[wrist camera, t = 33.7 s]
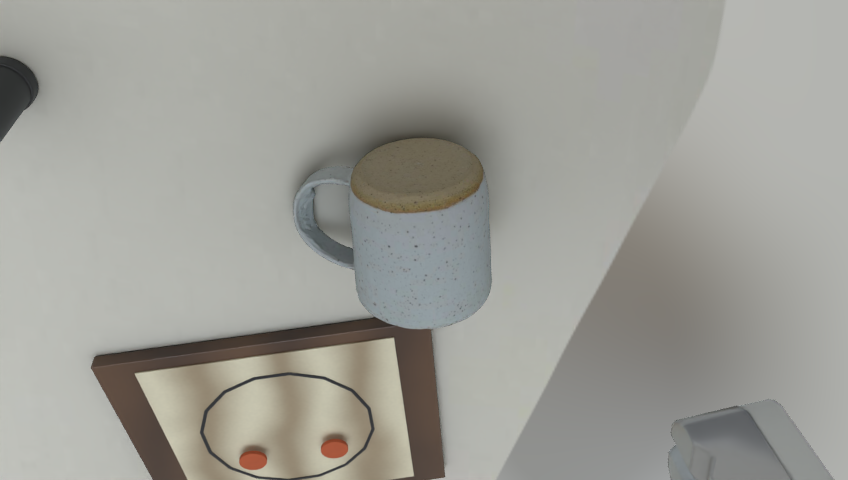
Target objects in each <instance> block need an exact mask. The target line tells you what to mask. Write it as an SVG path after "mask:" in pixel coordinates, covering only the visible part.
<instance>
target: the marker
mask: <svg viewBox="0 0 848 480" xmlns="http://www.w3.org/2000/svg"><path fill="white" fill-rule="evenodd" d="M37 93H38V84H37V81H36V78H35V76H34V75H33V73H32V72H31V71H30V70H29V69H28V68H27V67H26V66H25V65H24V64H22V63H21V62H19V61H17V60H14V59H11V58H8V57H0V142H1V141H2V139H3V138H4V137H5V135H6V134H7V133H8V131H9V130H10V128H11V127H12V126H13V124H14V123H15V122H16V120H17V119H18V117H19V116H20V115H21V113H22V112H23V111H24V110H25V109H27V108H28V107H29V106H30V105H31V104H32V102H33V101H34V99H35V98H36V96H37Z"/></svg>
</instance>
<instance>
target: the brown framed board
mask: <svg viewBox="0 0 848 480" xmlns="http://www.w3.org/2000/svg"><path fill="white" fill-rule="evenodd" d="M91 369H92V371H93V372H94V374H95V376H96V378H97V380H98V381H99V383H100V385H101V387H102V389H103V390H104V392H105V394H106V396H107V398H108V399H109V401H110V403H111V405H112V407H113V408H114V410H115V412H116V414H117V416H118V417H119V419H120V421H121V423H122V425H123V426H124V428H125V430H126V432H127V434H128V435H129V437H130V439H131V441H132V443H133V444H134V446H135V448H136V450H137V452H138V453H139V455H140V457H141V459H142V461H143V462H144V464H145V466H146V468H147V470H148V471H149V473H150V475H151V477H152V479H153V480H430V479H437V478H444V477H445V470H444V459H443V449H442V439H441V429H440V418H439V408H438V398H437V388H436V377H435V367H434V357H433V346H432V336H431V329H408V328H403V327H399V326H395V325H392V324H389V323H386V322H384V321H382V320H380V319H378V318H373V319H366V320H359V321H351V322H344V323H337V324H329V325H322V326H315V327H307V328H300V329H293V330H286V331H278V332H271V333H264V334H256V335H249V336H242V337H234V338H227V339H220V340H212V341H205V342H198V343H191V344H183V345H176V346H169V347H161V348H154V349H147V350H139V351H132V352H125V353H117V354H110V355H103V356H96V357H94V360H93V363H92V366H91ZM330 439H341V440H343V441H345V442H346V443H347V444H348V452H347V453H346V454H345V455H344V456H342V457H340V458H327V457H325V456H324V455H322V453H321V446H322V444H323V443H324V442H325V441H327V440H330ZM248 451H260V452H262V453H264V454H265V455H266V456H267V464H266V465H265V466H264V467H263V468H261V469H258V470H247V469H245V468H243V467H241V466H240V464H239V458H240V456H241V455H242V454H243V453H245V452H248Z"/></svg>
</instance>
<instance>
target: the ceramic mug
mask: <svg viewBox="0 0 848 480" xmlns="http://www.w3.org/2000/svg"><path fill="white" fill-rule="evenodd" d="M334 183H335V184H340V185H347V186H349V212H350V221H351V228H352V238H353V249H352V248H350V247H346V246H344V245H342V244H340V243H338V242H336V241H334V240H333V239H331V238H330V237H329V236H327V235H326V234H325V233H324V232H323V231H322V230H321V229H320V228H319V227H318V226H317V224H316V221H315V220H314V215H313V198H314V196H315V191H314V188H313V187H315V186H318V185H320V184H334ZM293 216H294V222H295V226H296V228H297V231H298V233H299V235H300V236H301V238H302V239H303V240H304V242H305V243H306V244H307V245H308V246H309V247H310V248H311V249H312V250H314V251H315V252H316V253H318V254H319V255H320V256H322V257H323V258H325V259H327V260H329V261H331V262H333V263H335V264H337V265H340V266H343V267H346V268H349V269H353V270H355V279H356V290H357V293H358V296H359V300H360V302H361V303H362V304H363V306H364V307H365V308H366V309H367V310H368V311H369V313H371V314H372V315H374V316H375V317H376V318H378V319H380V320H382V321H384V322H386V323H389V324H392V325H395V326H399V327H403V328H408V329H435V328H440V327H445V326H449V325H452V324H455V323H457V322H460V321H462V320H465V319H466V318H468V317H470V316H471V315H473V314H474V313H475V312H476V311H477V310H478V309H480V308H481V306H482V305H483V304H484V302H485V301H486V299H487V297H488V295H489V293H490V289H491V283H492V276H491V249H490V229H489V195H488V187H487V183H486V178H485V172H484V170H483V167H482V165H481V163H480V161H479V159H478V158H477V157H476V156H475V155H474V154H472V153H471V152H470V151H468V150H467V149H465V148H464V147H462V146H460V145H458V144H455V143H452V142H450V141H446V140H441V139H436V138H411V139H404V140H399V141H395V142H391V143H387V144H385V145H382V146H380V147H378V148H376V149H374V150H372V151H371V152H369V153H368V154H366V155H365V156H364V157H363V158H362V159H361V160H360V161H359V163H358V164H357V165H356V166H355V167H354V168H350V167H345V166H336V167H328V168H324V169H321V170H318V171H316V172H315V173H313V174H312V175H310V177H309V178H308V179H307V180H306V181H305V182H304V183H303V185H302V186H301V187H300V189H299V190H298V192H297V194H296V195H295V199H294V202H293Z"/></svg>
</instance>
